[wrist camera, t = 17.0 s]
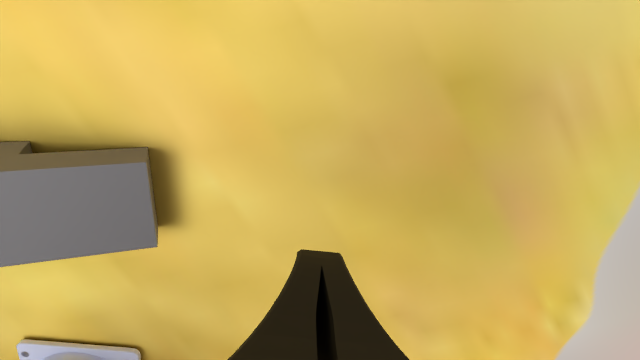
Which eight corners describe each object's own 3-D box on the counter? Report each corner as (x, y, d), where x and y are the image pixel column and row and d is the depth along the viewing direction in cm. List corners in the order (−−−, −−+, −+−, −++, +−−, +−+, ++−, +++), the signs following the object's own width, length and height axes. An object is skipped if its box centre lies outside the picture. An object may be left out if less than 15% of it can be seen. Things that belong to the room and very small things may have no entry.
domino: (157, 246, 22) (-75, 276, 19) (157, 227, 24) (-55, 251, 20) (146, 162, 20) (-119, 179, 17) (147, 147, 21) (-92, 160, 18)
